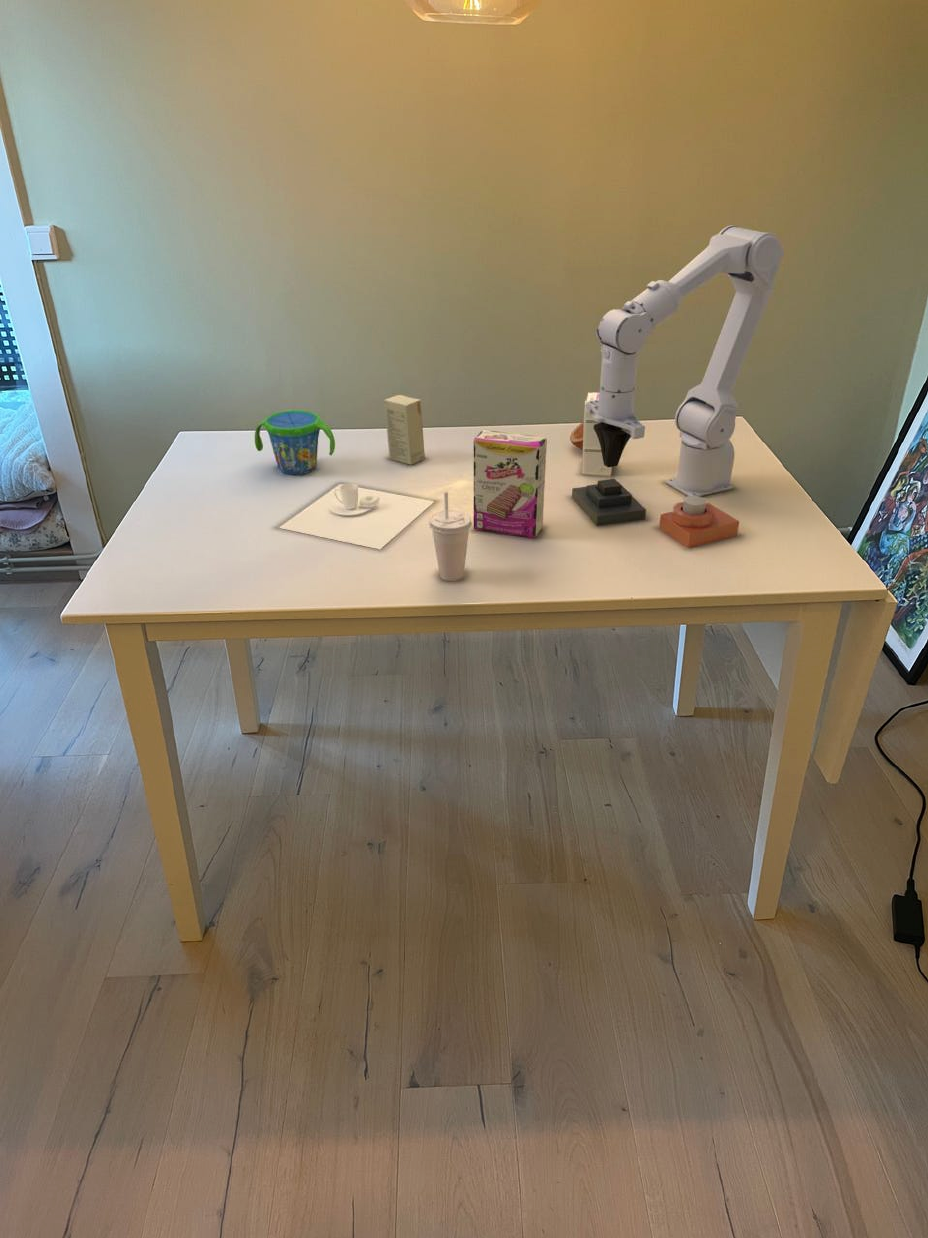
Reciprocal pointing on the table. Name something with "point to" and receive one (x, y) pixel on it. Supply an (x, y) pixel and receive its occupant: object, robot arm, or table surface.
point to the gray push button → (694, 505)
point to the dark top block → (609, 487)
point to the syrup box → (592, 445)
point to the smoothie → (450, 540)
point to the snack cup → (294, 439)
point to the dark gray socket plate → (608, 505)
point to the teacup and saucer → (358, 515)
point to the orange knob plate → (698, 525)
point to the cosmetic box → (404, 429)
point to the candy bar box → (509, 483)
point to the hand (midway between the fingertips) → (610, 465)
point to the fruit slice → (578, 436)
